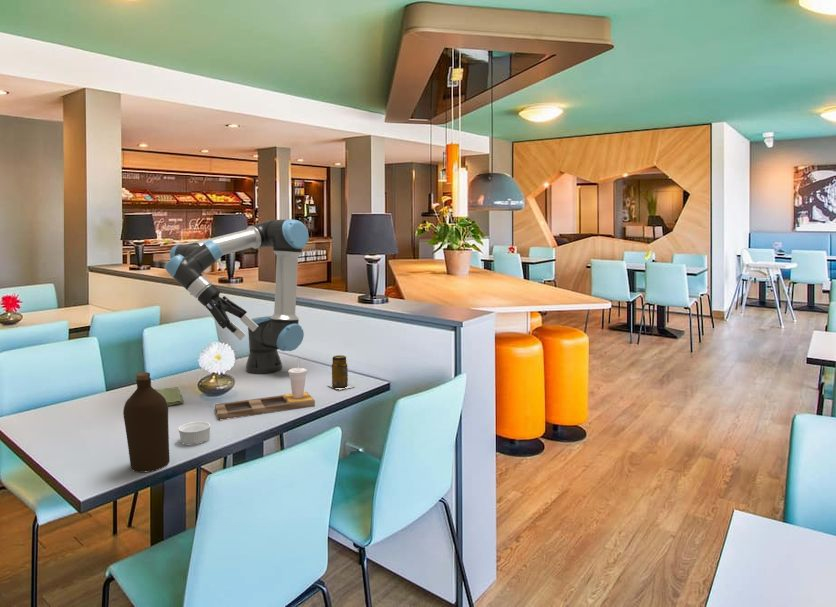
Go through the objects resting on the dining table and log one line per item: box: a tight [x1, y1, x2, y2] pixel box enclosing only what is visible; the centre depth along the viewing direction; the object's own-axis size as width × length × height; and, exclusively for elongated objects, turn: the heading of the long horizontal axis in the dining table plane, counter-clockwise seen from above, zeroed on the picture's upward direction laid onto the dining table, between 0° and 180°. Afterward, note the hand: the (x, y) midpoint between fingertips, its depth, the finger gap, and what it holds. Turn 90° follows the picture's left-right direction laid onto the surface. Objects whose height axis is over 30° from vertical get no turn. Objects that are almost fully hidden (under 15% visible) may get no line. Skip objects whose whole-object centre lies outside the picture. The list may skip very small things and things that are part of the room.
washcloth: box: [154, 387, 184, 407], centre depth 203 cm, size 13×18×3 cm
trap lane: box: [214, 391, 316, 421], centre depth 195 cm, size 11×32×2 cm, turn 115°
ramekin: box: [177, 421, 211, 445], centre depth 167 cm, size 9×9×4 cm
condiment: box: [331, 354, 349, 391], centre depth 218 cm, size 7×8×12 cm
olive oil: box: [122, 371, 170, 473], centre depth 148 cm, size 11×11×25 cm
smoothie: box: [287, 358, 308, 398], centre depth 198 cm, size 6×6×14 cm
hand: (249, 333), depth 200 cm, fingers open, 13 cm apart
